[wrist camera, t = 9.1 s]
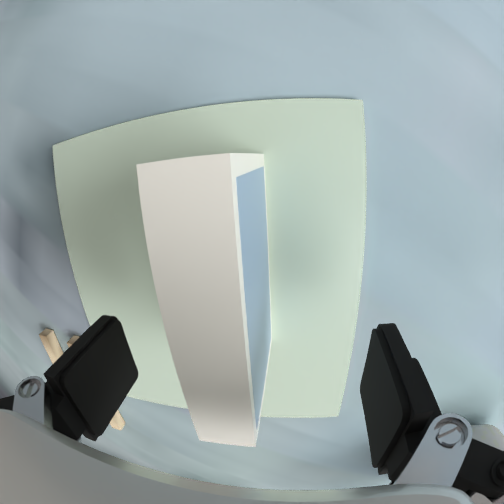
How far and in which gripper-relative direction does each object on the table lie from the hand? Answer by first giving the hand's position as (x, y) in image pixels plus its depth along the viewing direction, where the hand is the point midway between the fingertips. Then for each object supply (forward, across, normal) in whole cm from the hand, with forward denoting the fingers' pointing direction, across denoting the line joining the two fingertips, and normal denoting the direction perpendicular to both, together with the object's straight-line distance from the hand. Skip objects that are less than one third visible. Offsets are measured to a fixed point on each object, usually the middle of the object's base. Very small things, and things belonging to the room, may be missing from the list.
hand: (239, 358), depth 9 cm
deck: (+4, 0, -2) cm, 5 cm away
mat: (+5, +3, 0) cm, 5 cm away
